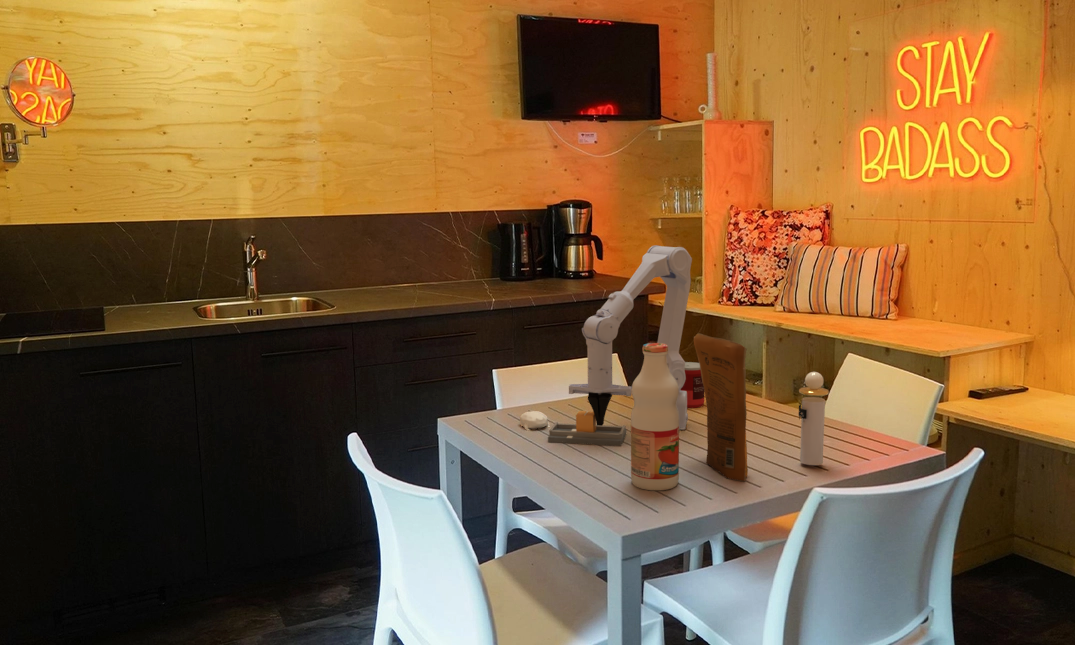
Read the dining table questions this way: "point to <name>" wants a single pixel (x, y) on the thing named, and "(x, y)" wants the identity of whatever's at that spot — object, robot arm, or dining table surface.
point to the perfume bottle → (812, 420)
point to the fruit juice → (655, 423)
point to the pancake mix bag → (724, 404)
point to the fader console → (587, 435)
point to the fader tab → (585, 421)
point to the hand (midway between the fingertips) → (600, 424)
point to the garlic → (533, 420)
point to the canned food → (693, 385)
